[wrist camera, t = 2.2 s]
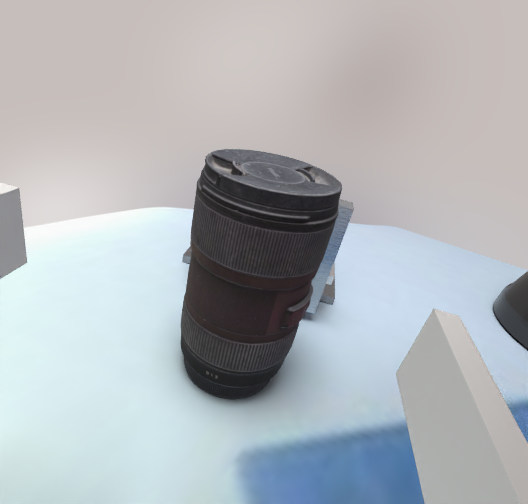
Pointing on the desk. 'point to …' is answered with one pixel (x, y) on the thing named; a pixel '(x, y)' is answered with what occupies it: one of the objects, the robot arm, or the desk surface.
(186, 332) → the camera lens
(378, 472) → the desk surface
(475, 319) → the desk surface
